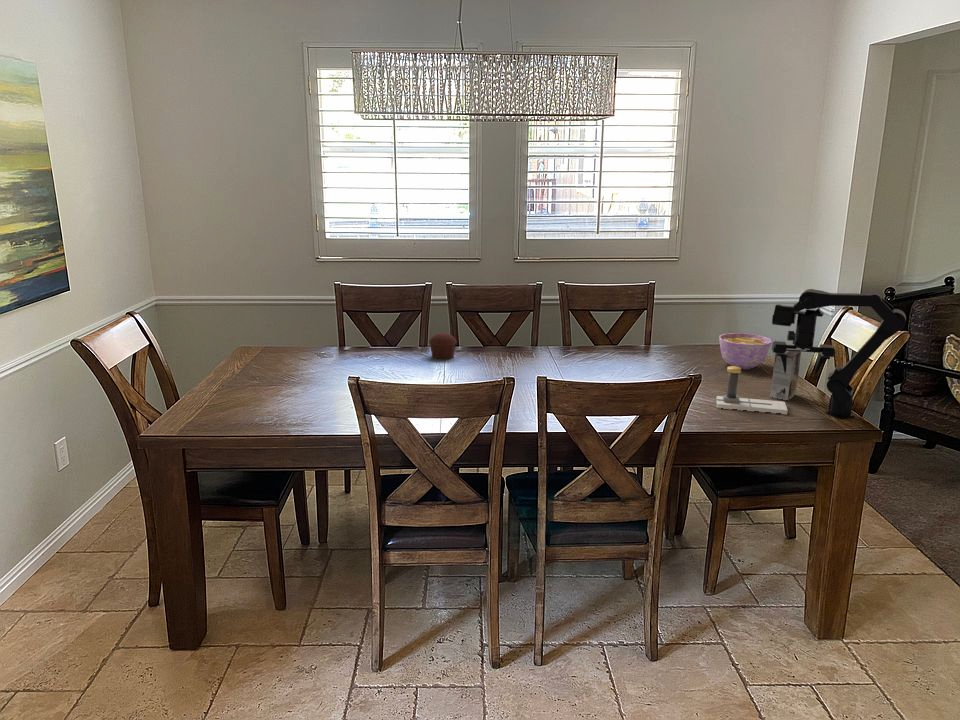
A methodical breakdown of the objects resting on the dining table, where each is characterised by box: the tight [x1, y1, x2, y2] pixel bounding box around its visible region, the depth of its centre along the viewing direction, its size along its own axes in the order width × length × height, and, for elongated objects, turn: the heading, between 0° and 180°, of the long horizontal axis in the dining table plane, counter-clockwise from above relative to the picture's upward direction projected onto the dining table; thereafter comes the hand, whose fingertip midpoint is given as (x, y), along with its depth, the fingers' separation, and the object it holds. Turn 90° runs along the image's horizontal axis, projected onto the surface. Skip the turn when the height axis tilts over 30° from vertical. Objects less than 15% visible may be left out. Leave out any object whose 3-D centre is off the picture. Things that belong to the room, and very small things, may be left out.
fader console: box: [715, 395, 788, 415], centre depth 247 cm, size 22×9×2 cm, turn 74°
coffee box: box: [769, 350, 802, 401], centre depth 257 cm, size 9×6×16 cm
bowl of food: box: [718, 332, 773, 370], centre depth 294 cm, size 20×20×12 cm
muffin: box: [428, 332, 458, 361], centre depth 306 cm, size 12×11×10 cm
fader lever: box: [722, 365, 742, 403], centre depth 247 cm, size 5×4×11 cm
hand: (799, 373), depth 243 cm, fingers open, 9 cm apart
